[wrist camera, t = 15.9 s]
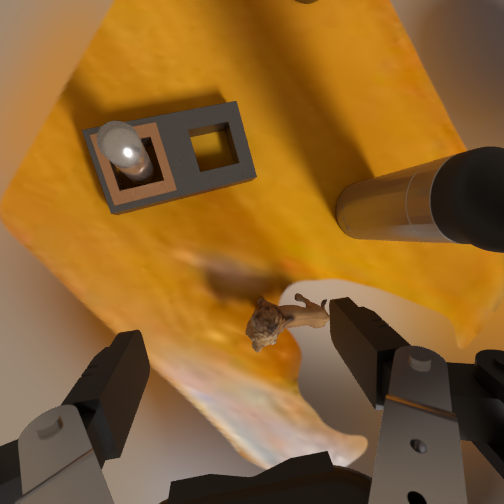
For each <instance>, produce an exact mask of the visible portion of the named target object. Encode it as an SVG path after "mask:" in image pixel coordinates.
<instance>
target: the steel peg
mask: <svg viewBox="0 0 504 504" xmlns="http://www.w3.org/2000/svg"><path fill="white" fill-rule="evenodd" d="M97 145H98V148H99V149H100V151H101V152H102V154H103V155H104V156H105V157H106V158H108V159H109V160H110V161H111V162H112V163H113V164H114V165H115V166H116V167H117V168H118V169H119V170H120V171H121V172H122V173H124V174H125V175H126V176H127V177H128V178H129V179H130V180H131V181H132V182H134V183H137V184H146V183H148V182H150V181H151V180H152V179H153V177H154V173H155V170H154V166H153V164H152V162H151V160H150V158H149V156H148V154H147V152H146V150H145V148H144V146H143V144H142V142H141V140H140V138H139V136H138V134H137V132H136V131H135V129H134V128H133V127H132V126H130V125H129V124H127V123H125V122H122V121H110V122H107V123H106V124H104V125H103V126H102V127H101V128H100V129H99V131H98V133H97Z"/></svg>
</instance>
